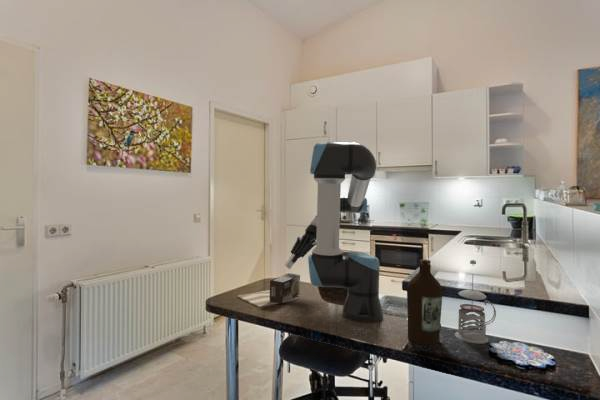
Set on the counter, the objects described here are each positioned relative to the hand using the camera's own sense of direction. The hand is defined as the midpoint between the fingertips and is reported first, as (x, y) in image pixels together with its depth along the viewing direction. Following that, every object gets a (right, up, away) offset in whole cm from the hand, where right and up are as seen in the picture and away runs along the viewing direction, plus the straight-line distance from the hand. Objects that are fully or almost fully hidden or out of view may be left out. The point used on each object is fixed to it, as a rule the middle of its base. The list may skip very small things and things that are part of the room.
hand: (287, 266), depth 156 cm
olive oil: (+45, -14, -47) cm, 67 cm away
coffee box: (+3, -8, 0) cm, 8 cm away
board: (-8, -12, -7) cm, 16 cm away
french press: (+62, -14, -45) cm, 78 cm away
